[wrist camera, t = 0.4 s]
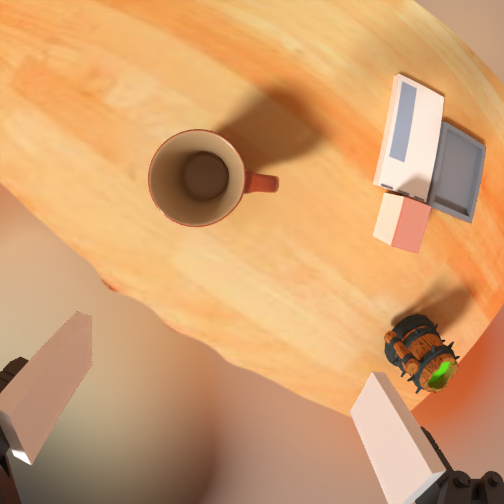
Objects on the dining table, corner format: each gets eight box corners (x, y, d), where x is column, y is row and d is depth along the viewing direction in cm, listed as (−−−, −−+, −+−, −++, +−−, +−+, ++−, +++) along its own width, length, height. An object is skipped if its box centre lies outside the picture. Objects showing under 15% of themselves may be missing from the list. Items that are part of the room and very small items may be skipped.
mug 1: (169, 209, 36) (145, 223, 26) (175, 138, 34) (152, 127, 24) (266, 217, 37) (276, 234, 27) (274, 146, 35) (288, 137, 25)
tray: (437, 122, 34) (444, 120, 33) (479, 146, 35) (486, 146, 33) (421, 203, 37) (428, 205, 36) (464, 221, 38) (471, 223, 37)
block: (384, 192, 37) (406, 197, 31) (407, 200, 37) (431, 206, 32) (372, 235, 38) (392, 246, 33) (396, 242, 39) (418, 253, 33)
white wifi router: (393, 76, 33) (399, 73, 31) (438, 99, 33) (444, 97, 32) (372, 184, 36) (378, 184, 35) (419, 200, 37) (426, 202, 36)
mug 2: (443, 322, 43) (481, 356, 32) (410, 370, 45) (441, 410, 34) (393, 297, 41) (434, 335, 30) (358, 353, 43) (386, 400, 32)
